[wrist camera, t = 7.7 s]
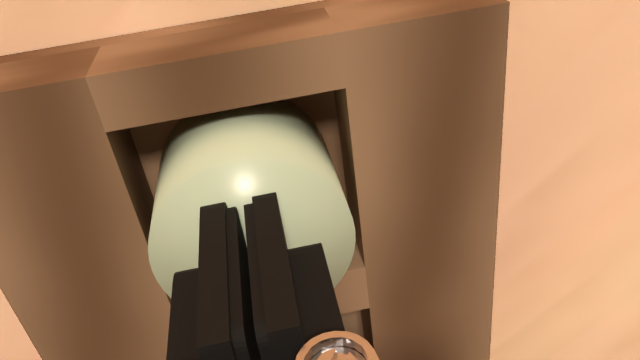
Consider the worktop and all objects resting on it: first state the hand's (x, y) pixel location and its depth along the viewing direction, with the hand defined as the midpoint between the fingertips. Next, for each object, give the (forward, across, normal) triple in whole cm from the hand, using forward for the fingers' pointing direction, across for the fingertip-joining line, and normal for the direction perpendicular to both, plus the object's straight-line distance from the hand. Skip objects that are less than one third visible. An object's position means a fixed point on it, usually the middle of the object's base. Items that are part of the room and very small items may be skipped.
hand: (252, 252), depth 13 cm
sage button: (+4, 0, 0) cm, 4 cm away
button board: (+4, 0, +7) cm, 8 cm away
